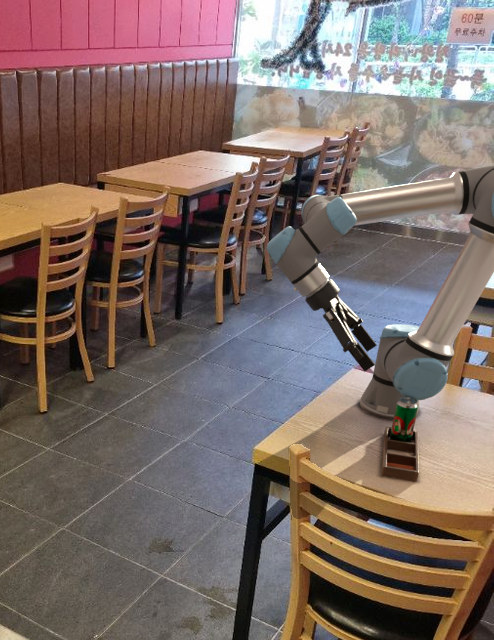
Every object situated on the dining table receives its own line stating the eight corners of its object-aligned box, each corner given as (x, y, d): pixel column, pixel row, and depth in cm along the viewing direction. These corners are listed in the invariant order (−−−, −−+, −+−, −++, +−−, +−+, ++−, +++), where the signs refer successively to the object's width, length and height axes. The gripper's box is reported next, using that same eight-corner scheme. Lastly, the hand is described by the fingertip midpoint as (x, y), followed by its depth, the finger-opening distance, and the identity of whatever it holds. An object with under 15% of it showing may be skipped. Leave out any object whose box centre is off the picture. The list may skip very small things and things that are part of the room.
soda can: (407, 439, 187) (416, 396, 181) (412, 449, 182) (421, 404, 176) (386, 439, 187) (395, 395, 181) (391, 448, 183) (399, 404, 177)
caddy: (383, 435, 189) (385, 426, 188) (415, 440, 187) (417, 431, 186) (381, 476, 171) (383, 466, 170) (416, 481, 169) (419, 472, 168)
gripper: (309, 284, 185) (359, 349, 189) (297, 313, 165) (354, 385, 169) (334, 265, 181) (385, 332, 185) (325, 292, 161) (383, 367, 164)
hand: (371, 357), depth 177 cm, fingers open, 13 cm apart
